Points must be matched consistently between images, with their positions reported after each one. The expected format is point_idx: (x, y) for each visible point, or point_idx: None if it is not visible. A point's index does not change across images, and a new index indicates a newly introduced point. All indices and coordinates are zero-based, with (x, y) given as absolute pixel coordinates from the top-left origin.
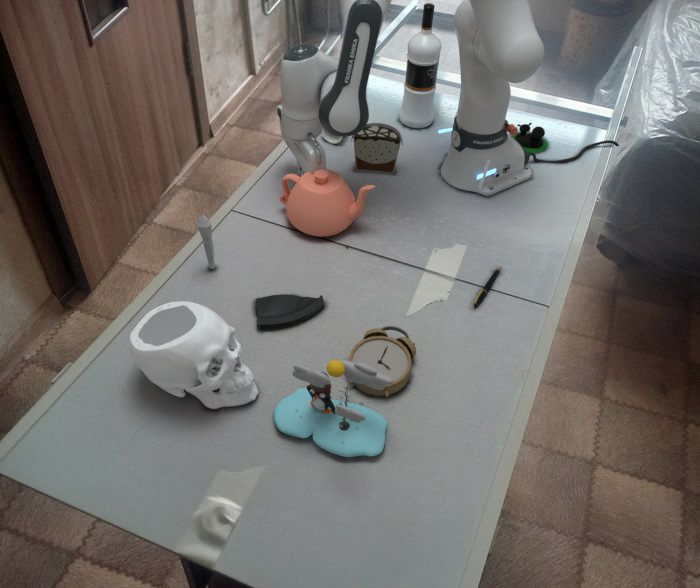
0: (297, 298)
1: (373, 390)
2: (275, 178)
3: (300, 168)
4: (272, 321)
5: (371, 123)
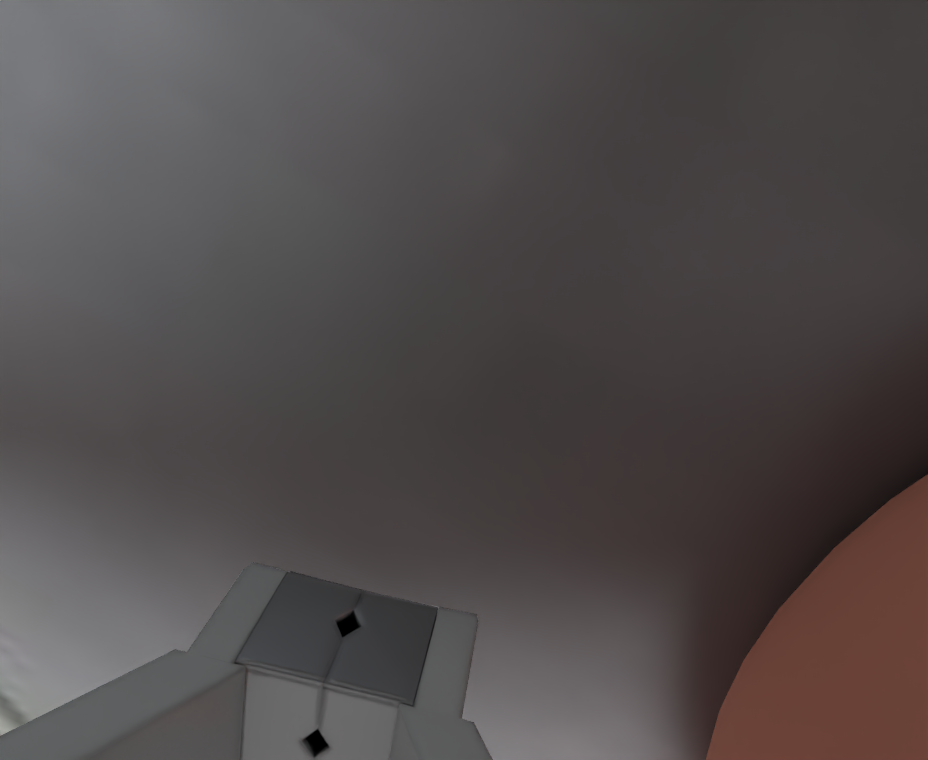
0: None
1: None
2: (91, 642)
3: (239, 758)
4: None
5: None
